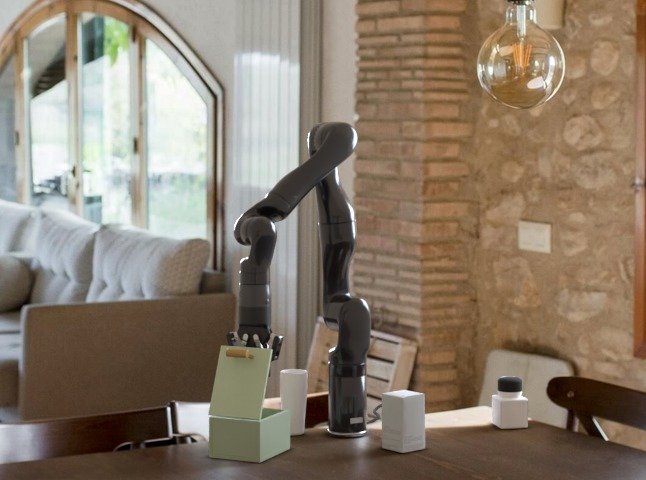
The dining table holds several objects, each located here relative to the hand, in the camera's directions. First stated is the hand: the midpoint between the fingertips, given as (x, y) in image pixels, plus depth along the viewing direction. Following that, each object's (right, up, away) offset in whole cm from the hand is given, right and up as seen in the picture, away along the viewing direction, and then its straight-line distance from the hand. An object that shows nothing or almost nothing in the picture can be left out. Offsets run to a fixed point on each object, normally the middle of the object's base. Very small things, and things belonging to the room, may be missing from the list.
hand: (254, 378), depth 292 cm
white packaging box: (+34, -17, +2) cm, 38 cm away
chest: (-1, -16, -2) cm, 16 cm away
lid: (-2, 0, -6) cm, 6 cm away
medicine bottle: (+61, -17, +27) cm, 69 cm away
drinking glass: (+8, -17, +18) cm, 26 cm away
